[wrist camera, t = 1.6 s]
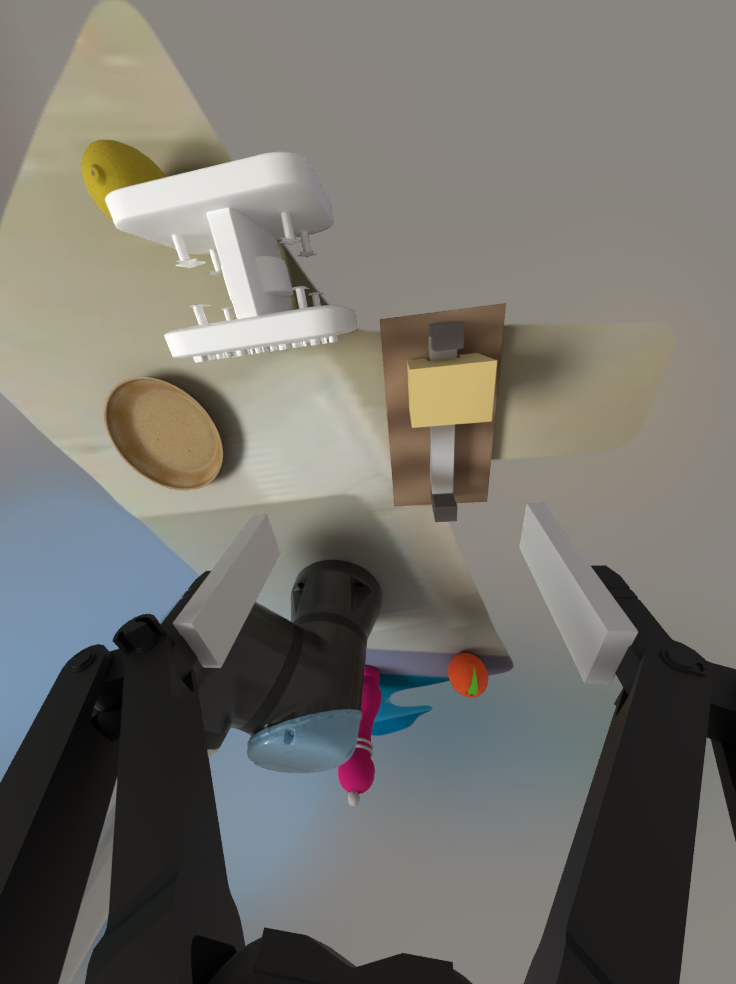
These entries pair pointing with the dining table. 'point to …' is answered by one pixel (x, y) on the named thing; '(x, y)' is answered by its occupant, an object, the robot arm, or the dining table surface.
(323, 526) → the dining table surface
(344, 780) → the pepper mill
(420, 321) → the rail board
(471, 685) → the clementine
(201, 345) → the cable organizer
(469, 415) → the slider
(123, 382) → the plant saucer
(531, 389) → the dining table surface
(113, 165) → the lemon
